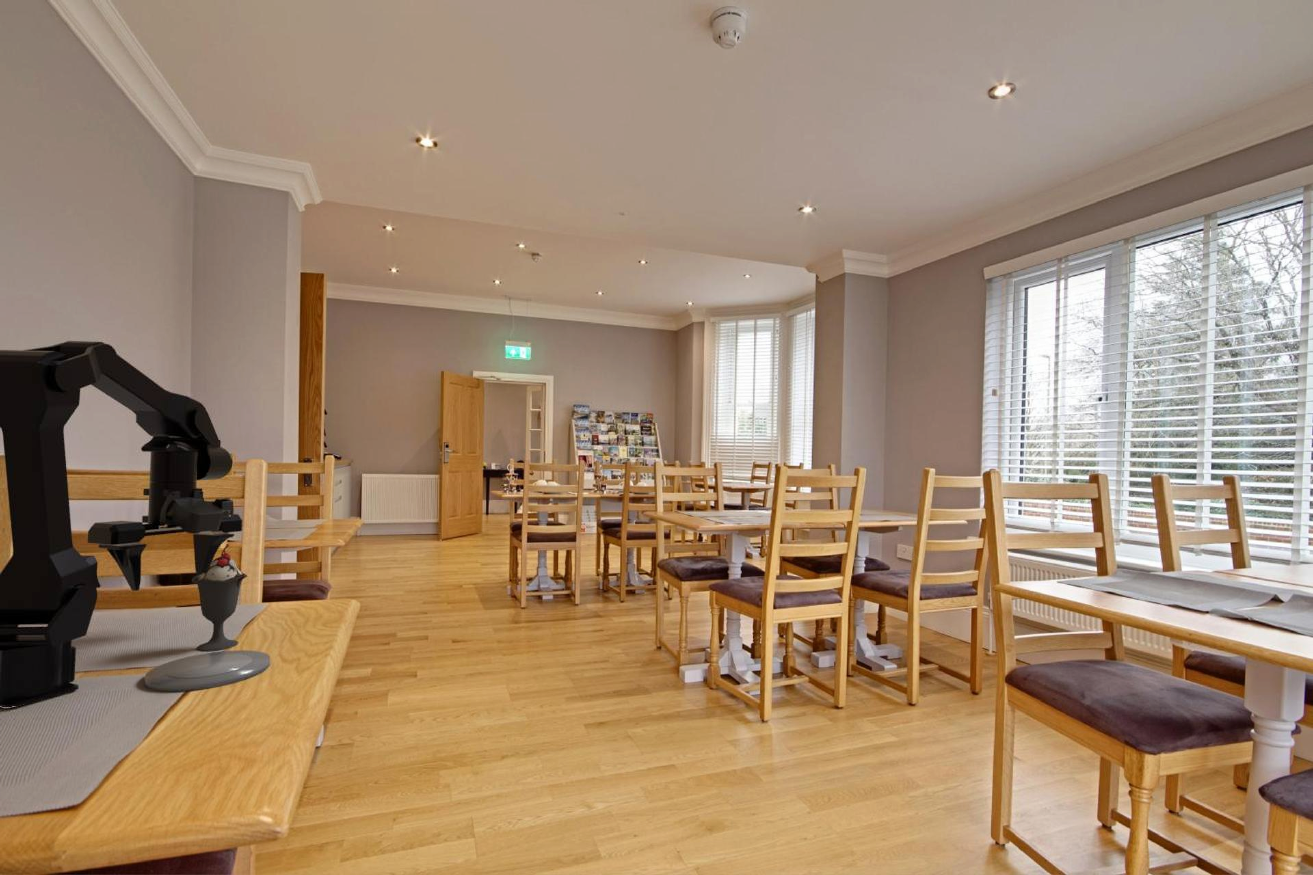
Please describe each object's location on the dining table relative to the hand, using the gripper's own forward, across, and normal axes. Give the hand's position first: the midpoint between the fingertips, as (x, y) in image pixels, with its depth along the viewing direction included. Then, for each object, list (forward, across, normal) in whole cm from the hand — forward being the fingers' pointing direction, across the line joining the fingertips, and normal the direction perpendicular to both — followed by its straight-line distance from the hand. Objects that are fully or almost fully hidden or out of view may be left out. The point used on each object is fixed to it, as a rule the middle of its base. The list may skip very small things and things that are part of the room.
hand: (169, 584), depth 94 cm
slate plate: (+8, -8, -21) cm, 24 cm away
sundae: (+8, 0, -11) cm, 14 cm away
